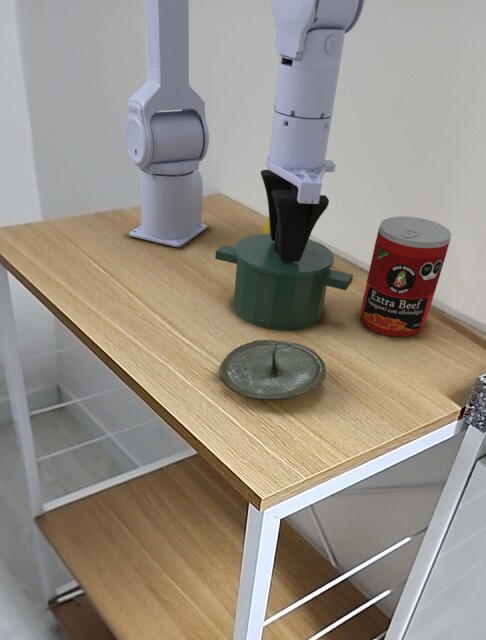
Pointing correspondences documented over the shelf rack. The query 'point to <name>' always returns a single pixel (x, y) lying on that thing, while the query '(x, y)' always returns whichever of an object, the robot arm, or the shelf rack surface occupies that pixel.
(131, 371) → the shelf rack surface
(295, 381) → the metal candle holder
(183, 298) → the shelf rack surface
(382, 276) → the canned food
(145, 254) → the shelf rack surface
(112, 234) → the shelf rack surface
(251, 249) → the pot lid
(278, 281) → the pot
